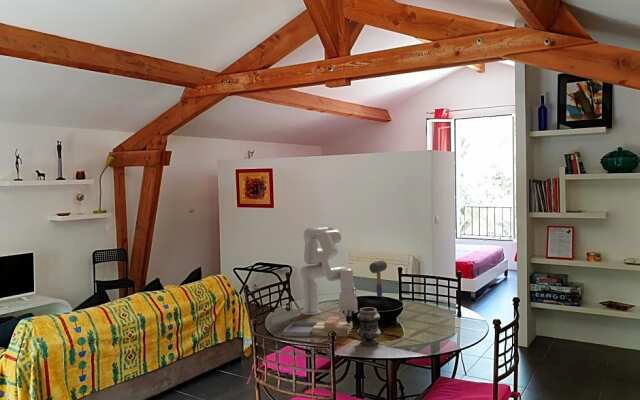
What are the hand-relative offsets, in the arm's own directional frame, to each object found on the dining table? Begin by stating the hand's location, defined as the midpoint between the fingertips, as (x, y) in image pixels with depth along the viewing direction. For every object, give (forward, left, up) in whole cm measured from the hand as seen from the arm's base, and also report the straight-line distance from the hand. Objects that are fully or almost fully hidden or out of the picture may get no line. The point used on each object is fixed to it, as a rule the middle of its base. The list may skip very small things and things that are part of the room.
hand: (349, 322), depth 288 cm
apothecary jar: (+21, +15, -5) cm, 27 cm away
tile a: (0, -9, -1) cm, 9 cm away
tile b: (+7, -9, -1) cm, 11 cm away
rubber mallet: (-59, +9, -5) cm, 59 cm away
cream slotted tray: (+3, -9, -5) cm, 11 cm away
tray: (+3, -28, -5) cm, 28 cm away
